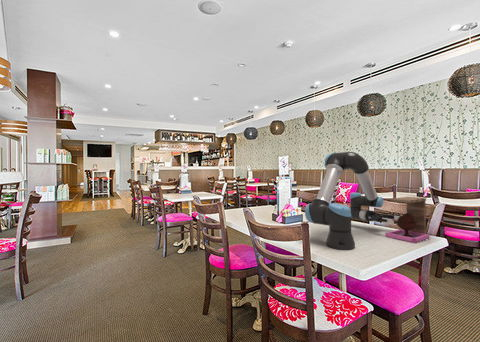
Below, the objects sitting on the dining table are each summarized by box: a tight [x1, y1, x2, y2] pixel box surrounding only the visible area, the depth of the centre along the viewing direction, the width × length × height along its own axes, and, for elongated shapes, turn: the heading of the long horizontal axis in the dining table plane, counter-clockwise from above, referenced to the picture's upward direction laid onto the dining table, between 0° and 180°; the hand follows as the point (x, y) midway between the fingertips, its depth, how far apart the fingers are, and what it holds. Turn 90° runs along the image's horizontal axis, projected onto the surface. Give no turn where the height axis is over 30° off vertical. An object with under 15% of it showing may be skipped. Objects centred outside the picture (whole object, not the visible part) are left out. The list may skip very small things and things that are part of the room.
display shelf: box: [390, 196, 427, 234], centre depth 151 cm, size 20×11×24 cm, turn 119°
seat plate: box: [384, 228, 431, 244], centre depth 151 cm, size 17×17×2 cm
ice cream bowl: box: [395, 212, 417, 238], centre depth 151 cm, size 11×11×15 cm
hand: (399, 220), depth 155 cm, fingers open, 13 cm apart
